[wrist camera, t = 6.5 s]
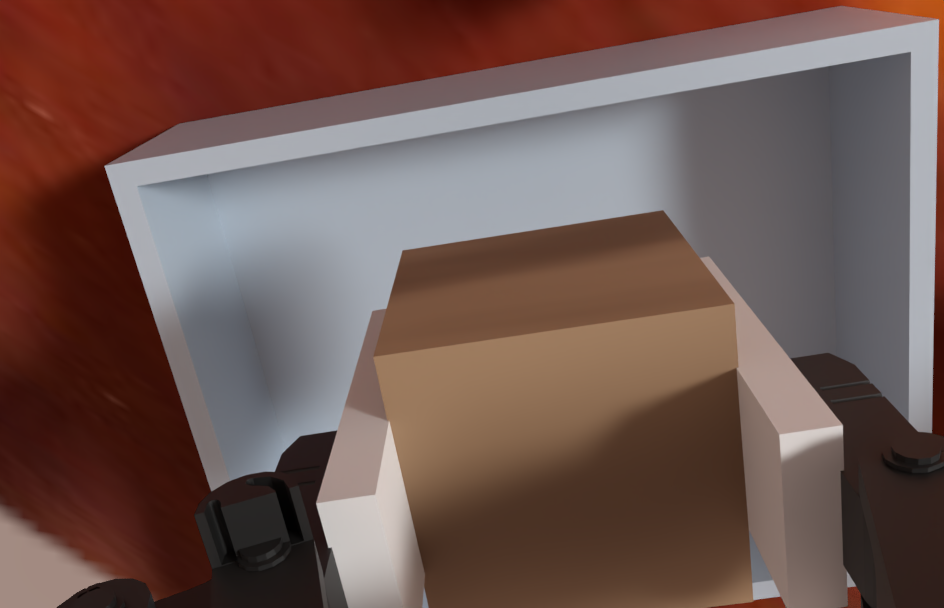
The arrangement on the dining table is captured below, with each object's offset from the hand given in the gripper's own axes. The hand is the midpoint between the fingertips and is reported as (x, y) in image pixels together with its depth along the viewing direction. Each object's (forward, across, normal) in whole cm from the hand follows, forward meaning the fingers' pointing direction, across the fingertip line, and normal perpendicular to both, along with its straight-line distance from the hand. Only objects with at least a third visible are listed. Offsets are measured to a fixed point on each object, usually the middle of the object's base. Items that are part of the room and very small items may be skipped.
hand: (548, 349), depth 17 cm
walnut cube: (0, 0, 0) cm, 0 cm away
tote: (+10, 0, -3) cm, 11 cm away
